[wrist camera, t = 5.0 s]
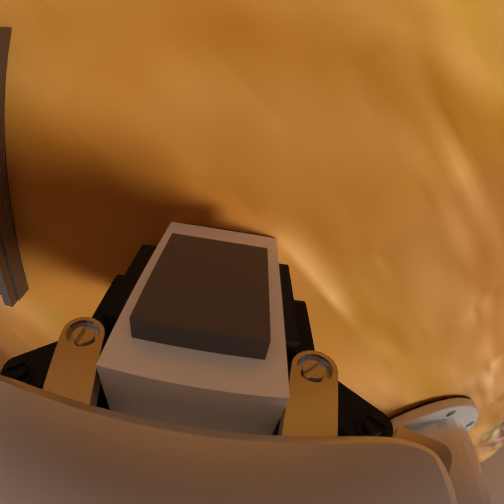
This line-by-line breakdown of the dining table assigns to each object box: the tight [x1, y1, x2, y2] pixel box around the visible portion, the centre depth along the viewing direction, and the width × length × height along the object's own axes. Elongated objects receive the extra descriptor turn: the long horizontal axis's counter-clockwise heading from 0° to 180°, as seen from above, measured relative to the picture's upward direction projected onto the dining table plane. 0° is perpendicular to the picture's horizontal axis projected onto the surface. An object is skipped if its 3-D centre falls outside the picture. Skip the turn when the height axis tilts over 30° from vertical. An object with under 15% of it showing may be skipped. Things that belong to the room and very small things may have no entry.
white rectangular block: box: [96, 222, 290, 435], centre depth 10 cm, size 5×4×7 cm
